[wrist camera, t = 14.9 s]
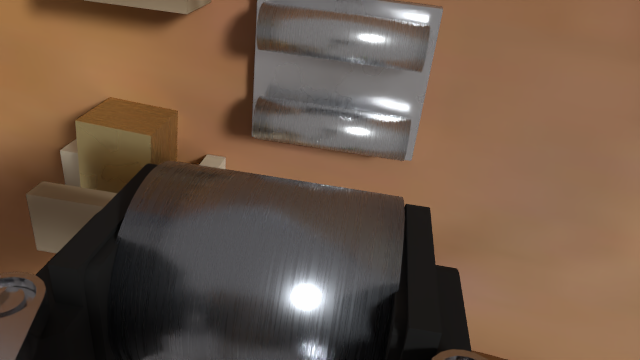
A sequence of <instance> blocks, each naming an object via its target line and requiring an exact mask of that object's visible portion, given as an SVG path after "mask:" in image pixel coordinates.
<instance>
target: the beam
mask: <svg viewBox="0 0 640 360" xmlns="http://www.w3.org/2000/svg"><path fill="white" fill-rule="evenodd" d="M86 1H93V2H100V3H108V4H115V5H123V6H130V7H137V8H145V9H152V10H160V11H167V12H174V13H182V14H188V13H190V12H192V11H194V10H196V9H198V8H200V7H202V6H204V5H206V4H208V3H210V2H211V0H86ZM60 154H61V160H62V167H63V173H64V179H65V185H63V184H57V183H51V182H45V181H42V182H41V183H40V184H38V185H37V186H36V187H34V188H33V189H32V190H30V191H29V192H28V193H27V194H26V198H27V203H28V208H29V213H30V217H31V222H32V227H33V232H34V237H35V242H36V247H37V250H40V251H46V252H52V253H58V252H59V251H60V250H61V249H62V248H63V247H64V246H65V245H66V244H67V243H68V242H69V241H70V240H71V239H72V238H73V237H74V235H75V234H76V233H77V232H78V231H79V230H80V229H81V228H82V227H83V226H84V225H85V224H86V223H87V222H88V221H89V220H90V219H91V218H92V217H93V216H94V215H95V214H96V213H98V212H99V211H101V210H102V209H103V208H104V207H105V206H106V205H107V204H108V203H109V201H110V200H111V199H112V198H113V197H114V196H115V195H116V194H117V193H113V192H107V191H100V190H94V189H88V188H82V187H81V186H80V174H79V162H78V150H77V138H76V139H75V140H74V141H72V142H71V143H69V144H68V145H67V146H65V147H64V148H63V149H61V150H60ZM199 165H202V166H208V167H215V168H221V169H225V165H226V157H220V156H214V155H208V154H207V155H206V157H205V158H204V159H203V161H202V162H201V163H200V164H199Z"/></svg>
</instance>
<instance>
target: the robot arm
mask: <svg viewBox="0 0 640 360" xmlns="http://www.w3.org/2000/svg"><path fill="white" fill-rule="evenodd" d="M156 166H158V165H156V164H150V163H148V164H146V165H145V166H144V167H143V168H142V169H141V170H140V171H139V172H138V173H137V174H136V175H135V176H134V177H133V178H132V179H131V180H130V181H129V182H128V183H127V184H126V185H125V186H124V187H123V188H122V189H121V190H120V191H119V192H118V193H117V194H116V195H115V196H114V197H113V198H112V199H111V200H110V201H109V203H108V204H107V205H106V206H105V207H104V208H103V209H102V210H101V211H99V212H98V213H96V214H95V215H94V216H93V217H92V218H91V219H90V220H89V221H88V222H87V223H86V224H85V225H84V226H83V227H82V228H81V229H80V230H79V231H78V232H77V233H76V234H75V235H74V237H73V238H72V239H71V240H70V241H69V242H68V243H67V244H66V245H65V246H64V247H63V248H62V249H61V250H60V251H59V252H58V253H57V254H56V255H55V256H54V257H53V258H52V259H51V260H50V261H49V262H48V263H47V264H46V265H45V266H44V267H43V268H42V269H41V270H40V271H39V272H38V273H37V274H36V275H33V274H30V273H24V272H9V273H2V274H0V360H116V359H115V357H114V355H113V353H112V350H111V346H110V342H109V336H108V324H107V307H108V294H109V285H110V279H111V272H112V268H113V263H114V258H115V254H116V250H117V247H118V244H115V242H116V239H117V236H118V233H119V230H120V227H121V224H122V221H123V219H124V216H125V214H126V211H127V209H128V207H129V205H130V203H131V201H132V199H133V197H134V195H135V193H136V191H137V190H138V188H139V186H140V185H141V183H142V182H143V181H144V179H145V178H146V176H147V175H148V174H149V173H150V172H151V171H152V170H153V169H154V168H155V167H156ZM404 209H405V220H404V241H403V254H402V264H401V274H400V283H399V291H398V292H395V296H394V304H393V311H392V318H391V325H390V331H389V337H388V343H387V349H386V355H385V360H488V359H486V358H484V357H482V356H480V355H478V354H476V353H473V352H471V346H470V339H469V333H468V327H467V320H466V314H465V308H464V301H463V295H462V289H461V282H460V276H459V272H458V270H457V269H456V268H451V267H445V266H439V265H435V255H434V245H433V234H432V224H431V213H430V208H429V207H423V206H416V205H410V204H406V205H405V207H404Z"/></svg>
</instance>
